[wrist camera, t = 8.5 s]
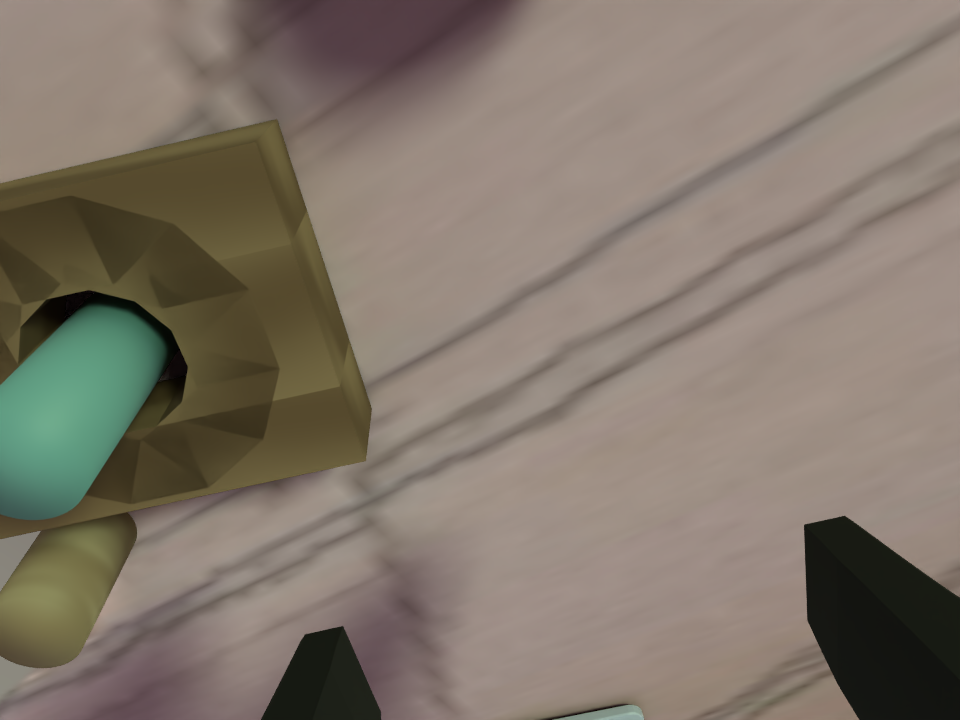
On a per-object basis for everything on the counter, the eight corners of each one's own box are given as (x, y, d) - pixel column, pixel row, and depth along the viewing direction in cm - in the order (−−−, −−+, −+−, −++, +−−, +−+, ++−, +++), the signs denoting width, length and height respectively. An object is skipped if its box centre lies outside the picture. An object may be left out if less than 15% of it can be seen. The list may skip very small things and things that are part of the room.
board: (371, 409, 21) (365, 461, 19) (29, 483, 22) (-16, 542, 19) (276, 119, 17) (255, 142, 15) (-135, 215, 18) (-214, 250, 16)
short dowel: (150, 550, 23) (100, 657, 19) (74, 566, 23) (10, 676, 20) (116, 488, 22) (56, 590, 18) (36, 505, 22) (-38, 610, 18)
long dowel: (202, 348, 20) (112, 503, 14) (116, 370, 20) (-7, 532, 14) (163, 264, 19) (47, 396, 13) (72, 288, 19) (-81, 429, 13)
